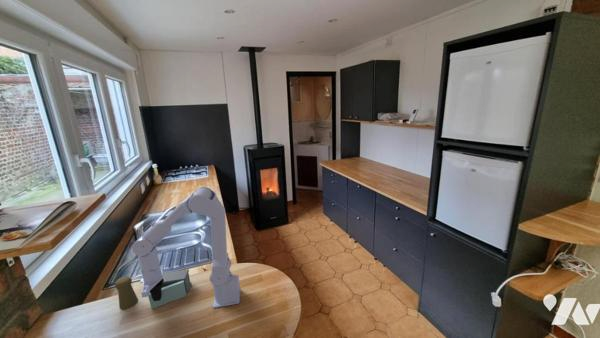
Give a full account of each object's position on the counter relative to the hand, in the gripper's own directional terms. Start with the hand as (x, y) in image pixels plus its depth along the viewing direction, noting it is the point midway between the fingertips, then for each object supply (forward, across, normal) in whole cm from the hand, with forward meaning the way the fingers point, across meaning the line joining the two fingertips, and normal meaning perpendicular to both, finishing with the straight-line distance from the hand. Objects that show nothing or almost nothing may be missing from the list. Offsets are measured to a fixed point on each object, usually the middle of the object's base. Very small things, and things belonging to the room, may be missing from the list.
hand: (157, 299), depth 91 cm
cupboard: (+4, -9, +2) cm, 10 cm away
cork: (+4, -6, -13) cm, 15 cm away
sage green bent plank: (+4, -3, +3) cm, 5 cm away
